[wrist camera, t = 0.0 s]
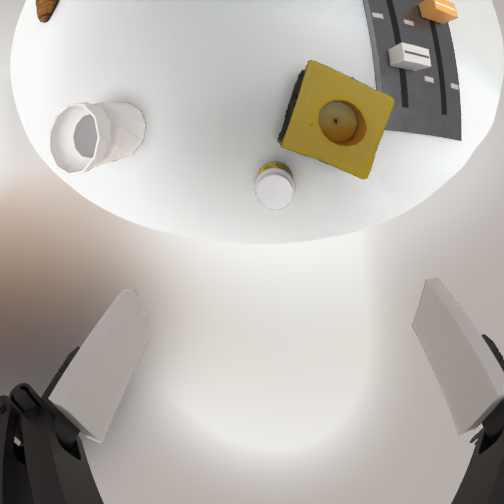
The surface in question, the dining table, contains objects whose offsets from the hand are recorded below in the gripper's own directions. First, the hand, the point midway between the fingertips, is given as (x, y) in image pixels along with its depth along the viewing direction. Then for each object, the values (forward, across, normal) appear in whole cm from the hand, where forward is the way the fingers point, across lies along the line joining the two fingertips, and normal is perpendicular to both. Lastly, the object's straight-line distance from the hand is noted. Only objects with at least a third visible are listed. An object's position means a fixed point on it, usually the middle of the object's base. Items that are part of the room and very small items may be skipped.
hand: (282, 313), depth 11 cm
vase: (+28, -22, +10) cm, 37 cm away
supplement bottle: (+28, 0, 0) cm, 28 cm away
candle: (+28, +7, +8) cm, 30 cm away
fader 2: (+26, +25, +28) cm, 45 cm away
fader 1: (+26, +18, +18) cm, 36 cm away
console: (+28, +22, +21) cm, 41 cm away
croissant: (+28, -38, +46) cm, 66 cm away
